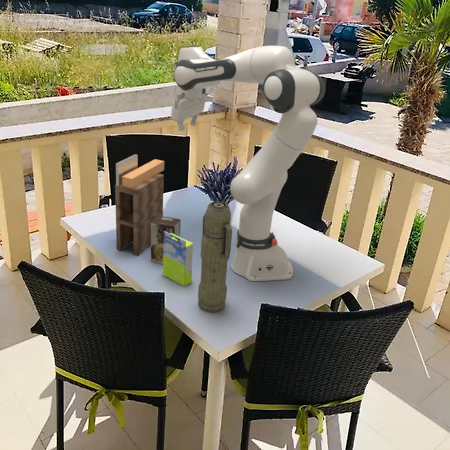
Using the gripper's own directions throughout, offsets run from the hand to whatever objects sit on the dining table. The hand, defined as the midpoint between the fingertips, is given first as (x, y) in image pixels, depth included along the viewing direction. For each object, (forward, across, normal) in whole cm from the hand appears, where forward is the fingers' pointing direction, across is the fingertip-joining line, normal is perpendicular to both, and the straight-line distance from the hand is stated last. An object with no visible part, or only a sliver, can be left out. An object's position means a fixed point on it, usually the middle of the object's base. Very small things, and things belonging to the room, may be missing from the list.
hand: (187, 127), depth 197 cm
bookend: (+15, -26, +10) cm, 32 cm away
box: (+41, -38, -18) cm, 59 cm away
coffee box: (+41, -29, -8) cm, 51 cm away
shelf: (+41, -23, +6) cm, 48 cm away
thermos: (+41, -46, -35) cm, 71 cm away
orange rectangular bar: (+15, -20, +6) cm, 26 cm away
